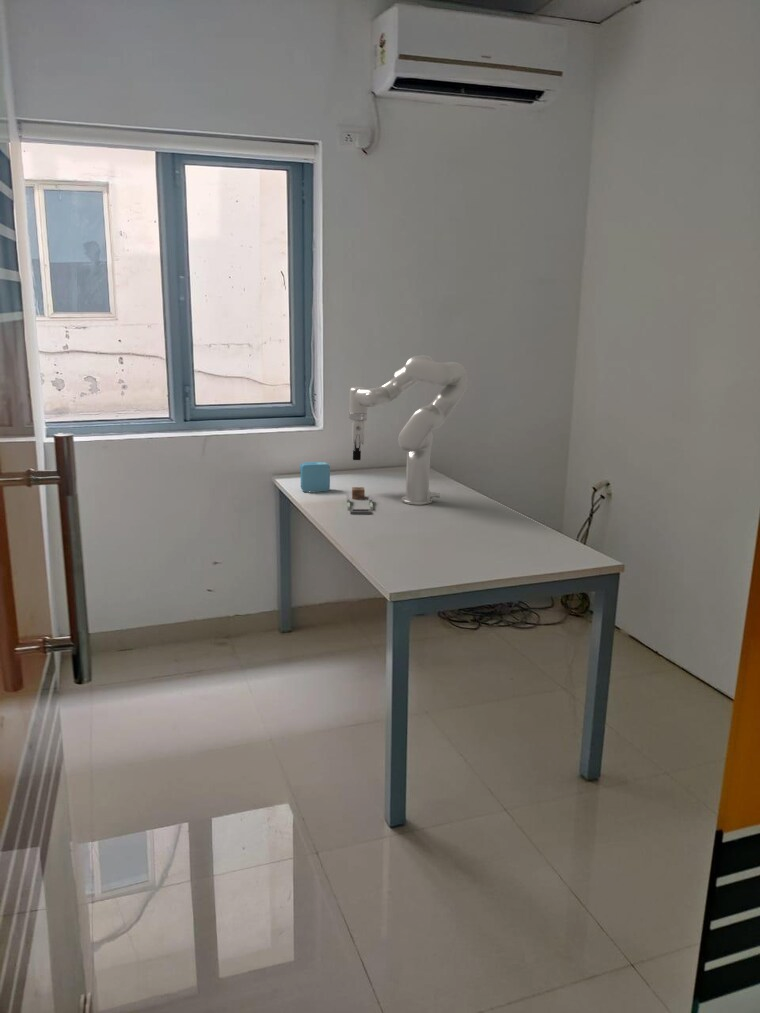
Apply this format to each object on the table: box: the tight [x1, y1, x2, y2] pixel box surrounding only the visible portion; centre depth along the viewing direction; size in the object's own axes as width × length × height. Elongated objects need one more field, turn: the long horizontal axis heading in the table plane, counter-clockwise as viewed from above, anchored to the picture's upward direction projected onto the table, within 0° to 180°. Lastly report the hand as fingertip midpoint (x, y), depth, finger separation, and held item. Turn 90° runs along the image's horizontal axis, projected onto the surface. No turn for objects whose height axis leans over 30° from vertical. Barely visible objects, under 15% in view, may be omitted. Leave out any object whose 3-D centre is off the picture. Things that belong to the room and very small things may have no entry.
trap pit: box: [349, 508, 372, 515], centre depth 302 cm, size 8×4×1 cm, turn 94°
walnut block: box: [351, 486, 366, 500], centre depth 325 cm, size 5×5×4 cm
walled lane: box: [346, 494, 373, 506], centre depth 316 cm, size 10×7×2 cm
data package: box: [300, 461, 331, 493], centre depth 334 cm, size 12×4×12 cm, turn 104°
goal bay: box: [346, 502, 374, 511], centre depth 309 cm, size 10×6×2 cm, turn 94°
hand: (356, 459), depth 331 cm, fingers closed
